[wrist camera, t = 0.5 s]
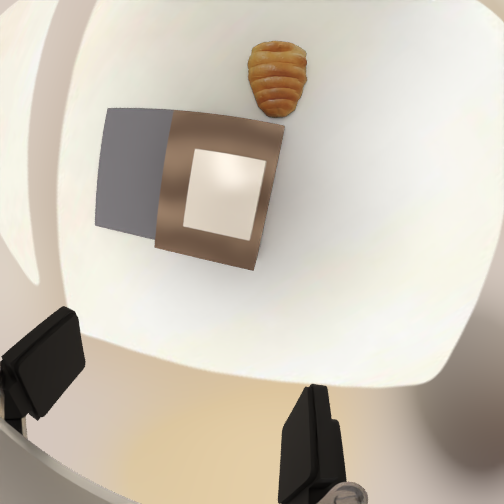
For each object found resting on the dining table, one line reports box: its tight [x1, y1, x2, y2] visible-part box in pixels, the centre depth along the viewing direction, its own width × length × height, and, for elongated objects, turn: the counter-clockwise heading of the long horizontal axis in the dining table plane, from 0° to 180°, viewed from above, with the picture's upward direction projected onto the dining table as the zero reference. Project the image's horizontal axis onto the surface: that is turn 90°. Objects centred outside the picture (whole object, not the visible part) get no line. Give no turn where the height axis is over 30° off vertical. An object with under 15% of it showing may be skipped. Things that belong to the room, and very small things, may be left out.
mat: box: [95, 108, 180, 240], centre depth 33 cm, size 17×12×1 cm
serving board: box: [155, 110, 285, 271], centre depth 30 cm, size 16×12×4 cm
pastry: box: [248, 41, 307, 118], centre depth 26 cm, size 9×7×4 cm
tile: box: [183, 149, 267, 241], centre depth 27 cm, size 8×7×2 cm
